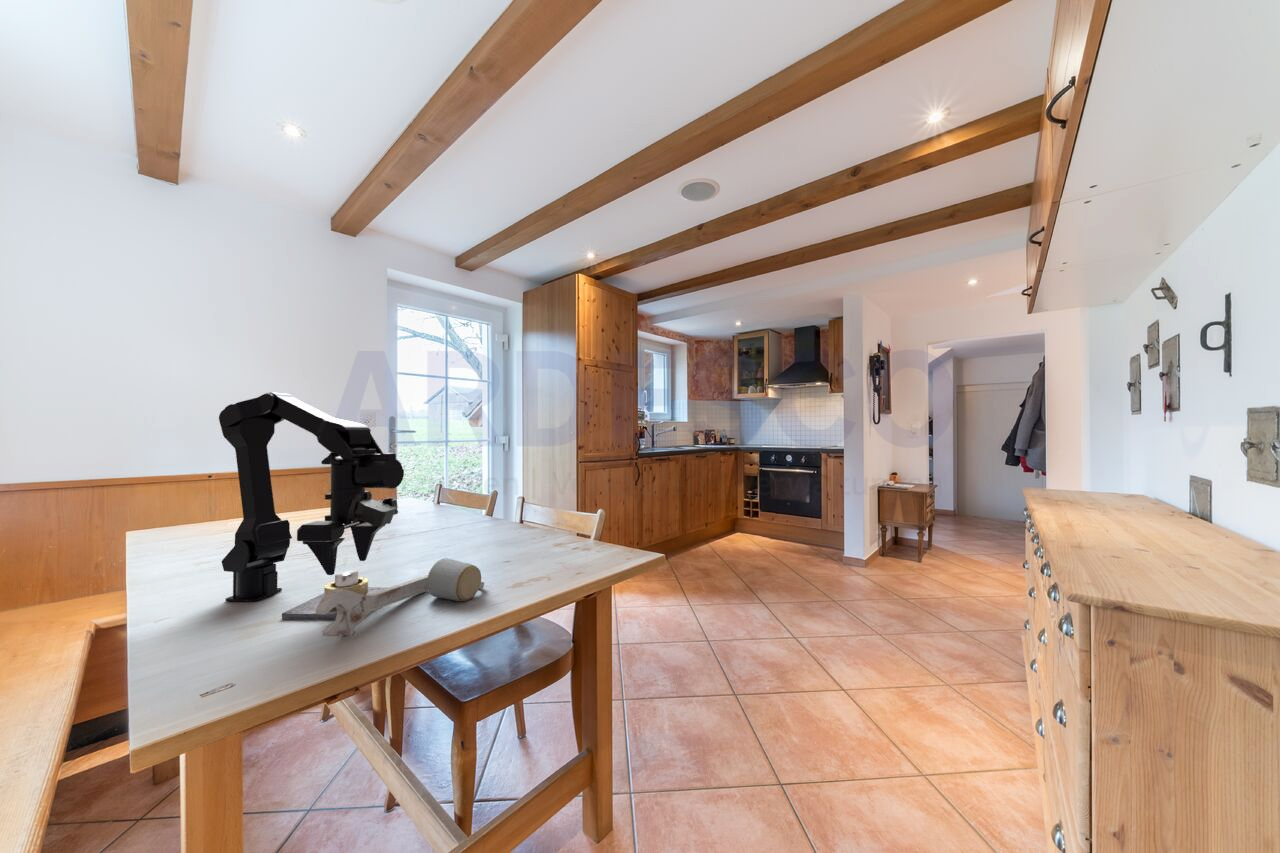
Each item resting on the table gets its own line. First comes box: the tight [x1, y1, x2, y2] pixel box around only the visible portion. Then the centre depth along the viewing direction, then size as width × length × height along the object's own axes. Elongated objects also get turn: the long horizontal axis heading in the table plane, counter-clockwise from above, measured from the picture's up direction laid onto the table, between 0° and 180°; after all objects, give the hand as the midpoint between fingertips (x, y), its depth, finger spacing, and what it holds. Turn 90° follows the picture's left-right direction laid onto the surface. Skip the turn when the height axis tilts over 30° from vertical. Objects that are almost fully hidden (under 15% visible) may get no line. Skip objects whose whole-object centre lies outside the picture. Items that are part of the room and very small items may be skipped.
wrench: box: [316, 574, 428, 638], centre depth 83 cm, size 8×2×30 cm
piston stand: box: [281, 570, 389, 621], centre depth 87 cm, size 14×14×6 cm
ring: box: [323, 576, 369, 596], centre depth 87 cm, size 7×7×2 cm
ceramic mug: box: [427, 557, 485, 602], centre depth 92 cm, size 11×8×8 cm
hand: (347, 567), depth 87 cm, fingers open, 9 cm apart
